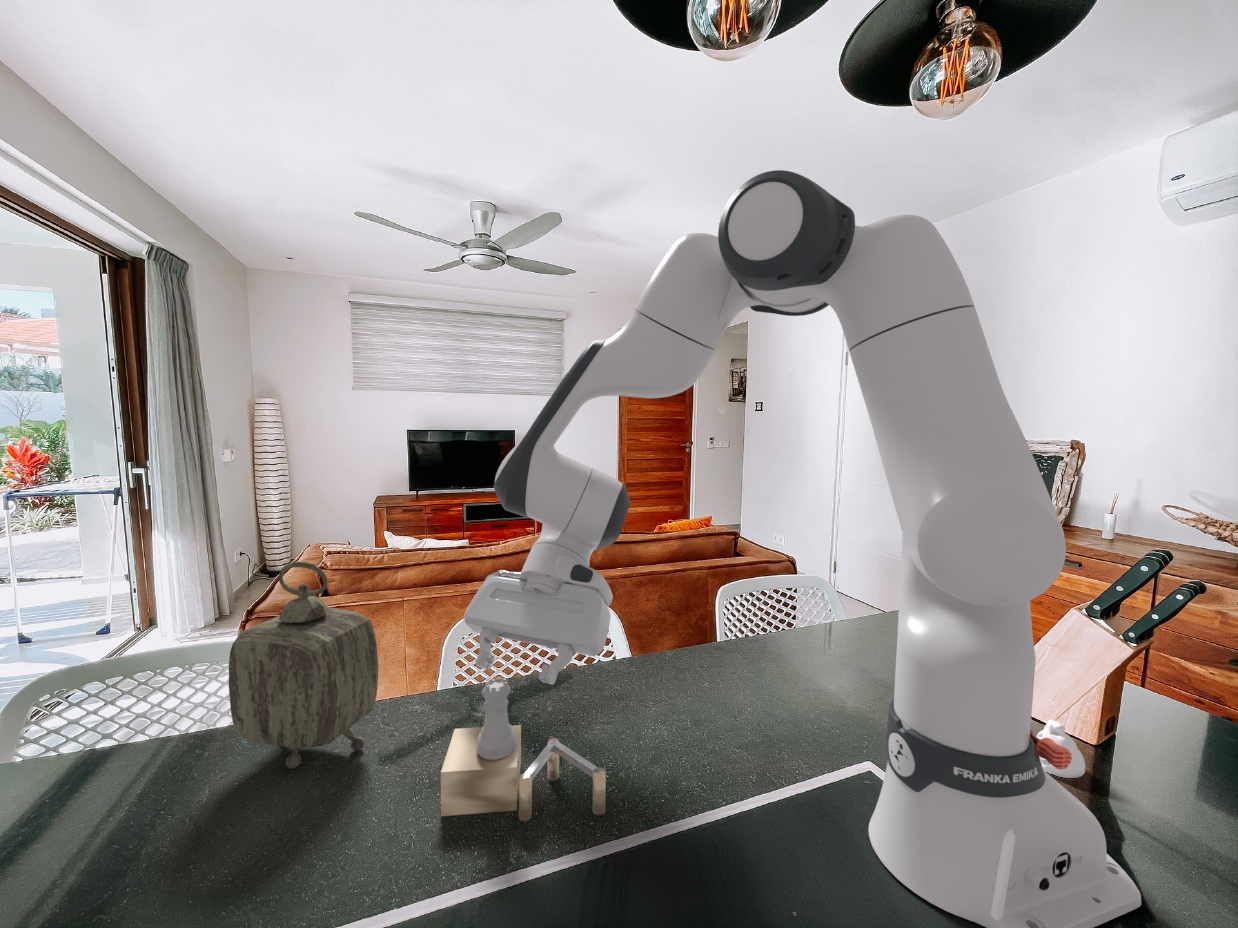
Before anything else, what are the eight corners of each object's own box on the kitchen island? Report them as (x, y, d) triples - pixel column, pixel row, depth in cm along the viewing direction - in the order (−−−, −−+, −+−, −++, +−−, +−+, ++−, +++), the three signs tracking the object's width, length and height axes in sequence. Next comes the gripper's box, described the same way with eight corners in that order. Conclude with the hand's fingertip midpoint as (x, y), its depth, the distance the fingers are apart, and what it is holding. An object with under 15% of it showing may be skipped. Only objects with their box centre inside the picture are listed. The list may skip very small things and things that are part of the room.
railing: (599, 769, 64) (600, 734, 63) (605, 814, 56) (606, 775, 56) (522, 775, 63) (522, 739, 62) (518, 821, 55) (518, 781, 55)
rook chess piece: (506, 765, 57) (506, 695, 56) (469, 759, 58) (468, 690, 57) (522, 741, 61) (522, 675, 61) (487, 736, 62) (486, 671, 61)
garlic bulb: (1021, 709, 68) (1066, 712, 68) (1018, 752, 69) (1062, 755, 68) (1051, 733, 63) (1100, 737, 62) (1048, 780, 63) (1096, 784, 63)
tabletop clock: (380, 744, 68) (376, 558, 66) (327, 791, 59) (321, 578, 57) (288, 728, 71) (282, 550, 69) (225, 771, 62) (216, 568, 61)
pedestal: (521, 763, 65) (521, 724, 64) (516, 810, 57) (516, 766, 57) (455, 767, 64) (454, 728, 63) (441, 816, 56) (440, 772, 56)
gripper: (482, 557, 75) (435, 649, 67) (611, 575, 67) (576, 681, 59) (500, 579, 79) (458, 667, 71) (623, 598, 72) (592, 700, 63)
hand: (513, 674), depth 65 cm, fingers open, 8 cm apart
